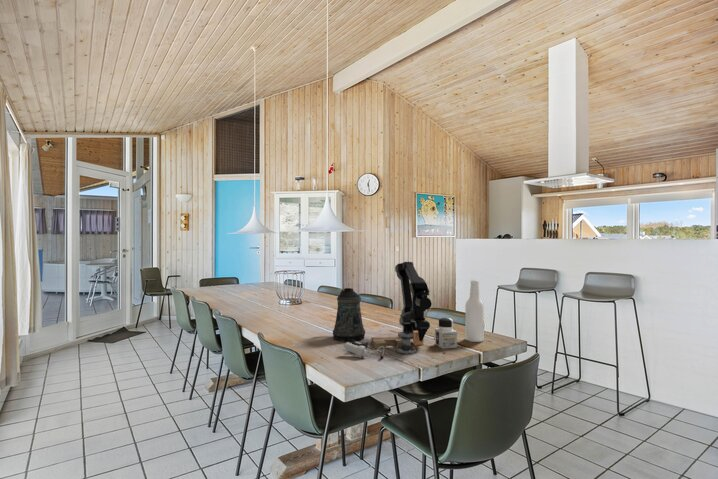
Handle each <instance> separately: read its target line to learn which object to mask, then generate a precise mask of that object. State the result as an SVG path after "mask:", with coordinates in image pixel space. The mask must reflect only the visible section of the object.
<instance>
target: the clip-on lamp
mask: <svg viewBox="0 0 718 479" xmlns="http://www.w3.org/2000/svg"><path fill="white" fill-rule="evenodd" d="M368 347H369V342H364V343H363V342H361V341H355V340H353V341H352V342H345V344H344V346H343V348H344V351H347V352H349V353H352V354H354V355H355V356H356V357H357V358H359V359H363V358H364V357H366V356H367V355H368V353H369V354H370V355H373V354H375V353H376V352H377V351H379V348H381V347H383V348H381V349H383V351H382V354H380V359H384V353H385V348H384V346H381V347H379V348H378V349H375V351H373V352H371V351H370V349H368Z"/></svg>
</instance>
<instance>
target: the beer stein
mask: <svg viewBox="0 0 718 479" xmlns="http://www.w3.org/2000/svg"><path fill="white" fill-rule="evenodd" d="M336 300H337V311H336V317H335V324H334V326H333V329H332V335H333V340H335V341H337V342H342V343H347V342H348V343H352V341H353V340H355V341H358V342H361V341H364V339H365V335H366V329H365V327H364V324H363V319H362V312H361V311H362V310H361V301H362V297H361V296H360V295H359V294H358V293H357V292H356V291H354V289H353V288H350V287H349V288H348V287H346V288H344V289H343V290H341V291H340V293H339V295H338V296H337V297H336Z"/></svg>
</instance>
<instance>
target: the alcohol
mask: <svg viewBox="0 0 718 479" xmlns="http://www.w3.org/2000/svg"><path fill="white" fill-rule="evenodd" d="M479 285H480V283H479V280H478V279H471V280H470V289H469V290H470V292H469V297H468V299H467V301H466V302H465V315H464V316H465V317H464V318H465V319H464V320H465V324H464V325H465V328H464V330H465V336H464V337H465V341H467V342H471V343H482V342H483V341H484V339H485V337H484V336H485V335H484V334H485V332H484V331H485V330H484V329H485V326H484V324H485V311H484V310H485V306H484V303H483V301H482V299H481V297H480V287H479Z"/></svg>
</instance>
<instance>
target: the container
mask: <svg viewBox="0 0 718 479" xmlns="http://www.w3.org/2000/svg"><path fill="white" fill-rule="evenodd" d="M434 345H436V346H438V347H439V348H440V349H452V348H454V349H455V348H458V331H457V330H455V329H454V320H453V319H452V318H450V317H449V318H448V317H441V318H439V319H438V328H434Z"/></svg>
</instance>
